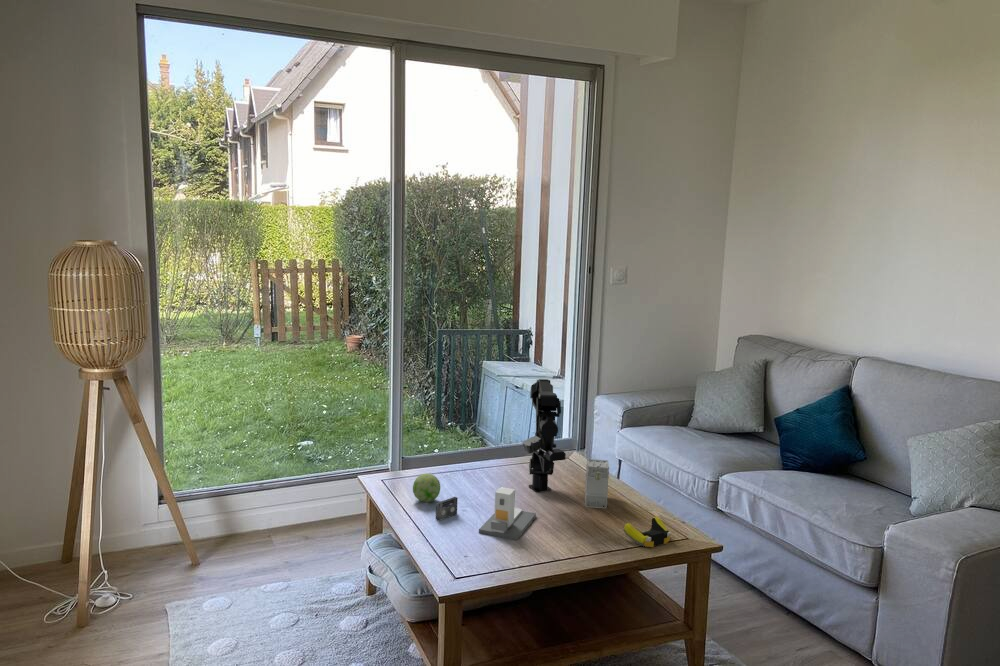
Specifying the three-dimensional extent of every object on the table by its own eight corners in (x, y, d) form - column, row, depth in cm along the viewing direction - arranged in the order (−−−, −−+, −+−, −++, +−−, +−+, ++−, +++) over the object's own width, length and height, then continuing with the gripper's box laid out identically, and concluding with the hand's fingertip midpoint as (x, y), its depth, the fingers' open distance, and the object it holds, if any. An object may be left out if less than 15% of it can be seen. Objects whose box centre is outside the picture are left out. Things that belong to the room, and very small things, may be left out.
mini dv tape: (454, 512, 247) (454, 496, 246) (457, 514, 245) (457, 497, 245) (435, 519, 241) (436, 502, 240) (438, 520, 240) (438, 503, 239)
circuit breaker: (604, 493, 269) (607, 454, 266) (606, 508, 255) (609, 467, 252) (584, 492, 269) (586, 453, 267) (585, 506, 255) (587, 466, 253)
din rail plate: (500, 510, 250) (500, 498, 249) (535, 516, 246) (536, 504, 245) (478, 532, 231) (479, 519, 231) (517, 540, 227) (517, 526, 226)
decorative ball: (443, 504, 253) (444, 477, 251) (416, 508, 249) (416, 480, 248) (435, 494, 262) (436, 468, 260) (409, 497, 258) (409, 470, 257)
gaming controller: (620, 539, 231) (641, 551, 222) (621, 522, 230) (642, 535, 221) (655, 530, 238) (677, 542, 230) (656, 514, 237) (678, 526, 229)
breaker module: (499, 520, 237) (500, 487, 236) (513, 523, 236) (515, 489, 234) (493, 527, 232) (494, 493, 230) (507, 530, 230) (509, 495, 229)
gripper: (514, 424, 257) (512, 466, 259) (538, 439, 240) (536, 484, 243) (541, 421, 262) (539, 462, 264) (567, 436, 245) (565, 480, 247)
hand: (544, 472), depth 255 cm, fingers closed
